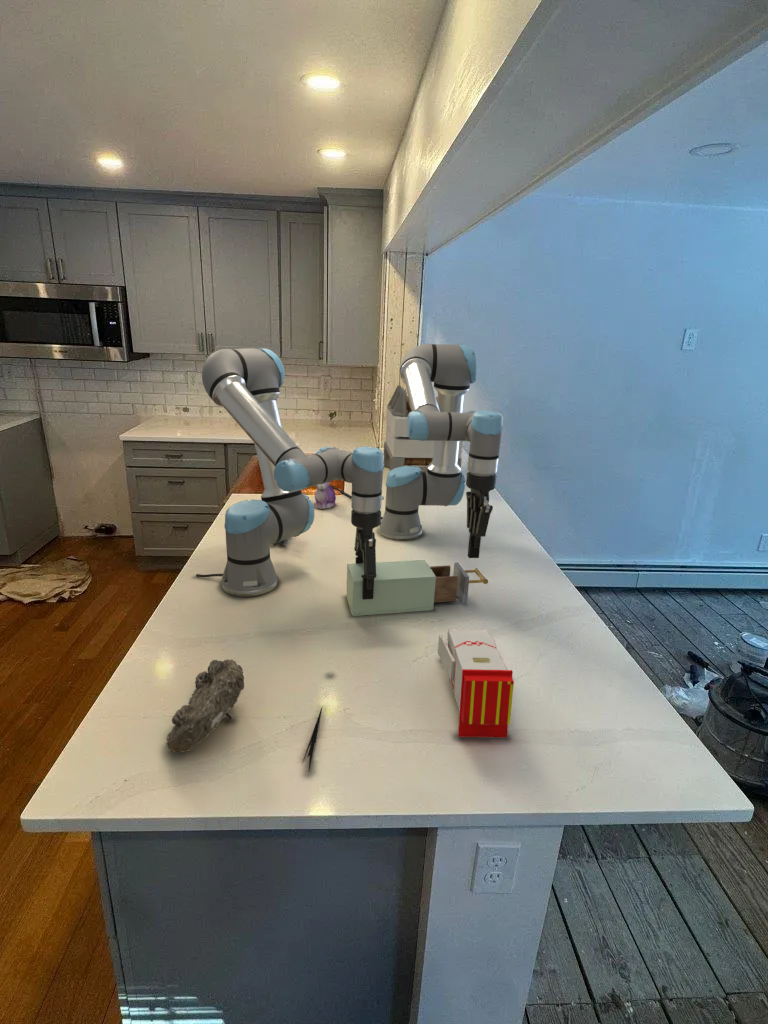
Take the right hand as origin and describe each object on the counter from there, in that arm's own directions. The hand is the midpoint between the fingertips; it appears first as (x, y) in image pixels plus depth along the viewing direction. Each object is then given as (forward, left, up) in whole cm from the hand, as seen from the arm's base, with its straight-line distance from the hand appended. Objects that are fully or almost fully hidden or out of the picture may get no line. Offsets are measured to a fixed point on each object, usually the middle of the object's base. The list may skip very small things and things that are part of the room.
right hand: (473, 556), depth 153 cm
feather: (+15, -60, -13) cm, 64 cm away
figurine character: (-65, -21, -13) cm, 70 cm away
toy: (+27, -31, -13) cm, 43 cm away
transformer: (-99, +77, -13) cm, 126 cm away
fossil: (+2, -76, -13) cm, 77 cm away
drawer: (-5, -8, -12) cm, 15 cm away
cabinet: (-11, -20, -13) cm, 26 cm away
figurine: (-85, +11, -13) cm, 87 cm away
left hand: (-14, -26, -8) cm, 31 cm away
